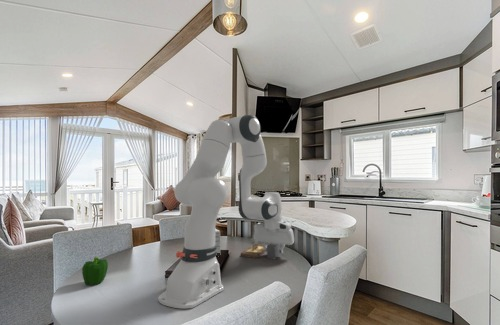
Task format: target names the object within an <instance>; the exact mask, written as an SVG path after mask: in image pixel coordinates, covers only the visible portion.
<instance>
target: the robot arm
mask: <svg viewBox="0 0 500 325" xmlns="http://www.w3.org/2000/svg"><path fill="white" fill-rule="evenodd" d="M261 130H262V126H261V123H260V121H259V119H258V118H257V116H255V115H251V114H245V115H241V116H233V117H231V118H228V119H224V120H223V119H216V120H213V121H212V122H210V125H209V126H208V127H207V130H206V131H205V133H204V136H203V138H202V141H201V144H200V146H199V149H198V152H197V153H196V156H195V159H194V161H193V163H192V164H191V165H190V167H189V169H188V171H187V172H186V174H185V175H184V176H183V178H182V179H181V180H180V181H178V183H177V184H176V185H175V188H174V191H173V193H174V197H175V199H176V201H177V202H179V203H180V204H182V205H183V206H186V207H191V211H190V215H189V218H188V220H187V221H186V222H185V224H184V228H183V229H184V246H183V247H182V251H179V250H178V251H177V252H176V253H175V254H176V255H175V257H176V258H178V259H179V258H180V260H179V262H178V264H177V265H176V266H175V268H174V270H172V272H171V274H170V275H169V276H168V278H167V280H166V287H165V290H164V291H163V293H161V294H160V295H159V296H158V297H157V301H158V302H159V303H160V304H161V305H163V306H167V307H171V308H174V309H175V308H176V309H183V310H185V309H193V308H195V307H197V306H199V305H200V304H203V303H204V302H205V301H207V300H208V299H210V298H212V297H214V296H216V295H218V294H219V293H220V292H223V291H224V289H225V287H224V285H223V284H222V280H221V269H220V263H219V261H218V259H217V257H216V255H217V245H216V244H215V229H216V225H217V219H218V215H219V212H220V211H221V208H222V206H224V204H225V203H226V201H227V200H228V196H229V190H228V186H227V184H226V183H225V182H224V180H222V179H219V178H215V177H216V175H218V173H219V172H221V171H222V170H223V168H224V166H225V163H226V159H227V156H228V154H229V151H230V150H229V149H230V147H231V144H233V143H239V145H240V146H241V156H242V166H241V168H240V169H239V174H238V183H239V184H238V187H239V190H238V192H239V193H238V194H239V200H238V201H239V202H238V213H239V215H240V217H241V218H242V219H244V220H259V221H263V222H264V223H263V222H262V223H260V222H257V223H255V224H254V225H253V230H254V233H253V240H254V241H255V242H258V243H262V246H264V248H265V252H264V253H267V246H268V245H267V244H271V243H275V244H280V248H281V249H279V251H280V252H279V253H281V254H283V253H284V248H285V246H286V245H288V246H291V245H293V244H294V242H295V234H294V230H293V229H292V223H291V222H289V221H287V220H285V219H284V220H283V217H282V209H283V208H282V198H281V194H280V193H279V192H277V191H272V190H271V191H265V193H264V195H263V197H262V198H252V196H251V194H252V190H251V187H252V186H251V182H252V179H254V177H256V176H258V175H259V174H261V173H262V172H264V171H265V169H266V167H267V166H268V165H267V164H268V160H267V158H268V157H267V153H266V152H267V151H266V146H265V143H264V140H263V137H262V135H261Z"/></svg>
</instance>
